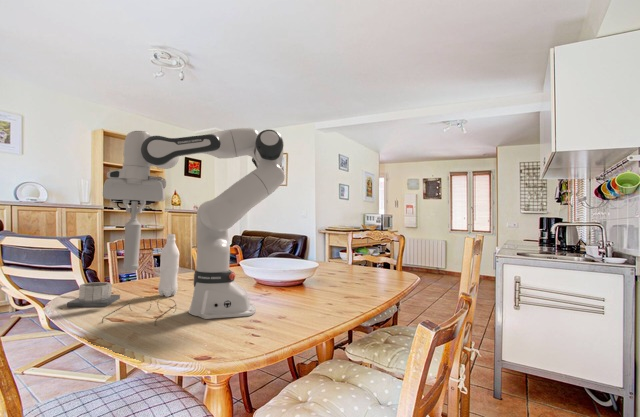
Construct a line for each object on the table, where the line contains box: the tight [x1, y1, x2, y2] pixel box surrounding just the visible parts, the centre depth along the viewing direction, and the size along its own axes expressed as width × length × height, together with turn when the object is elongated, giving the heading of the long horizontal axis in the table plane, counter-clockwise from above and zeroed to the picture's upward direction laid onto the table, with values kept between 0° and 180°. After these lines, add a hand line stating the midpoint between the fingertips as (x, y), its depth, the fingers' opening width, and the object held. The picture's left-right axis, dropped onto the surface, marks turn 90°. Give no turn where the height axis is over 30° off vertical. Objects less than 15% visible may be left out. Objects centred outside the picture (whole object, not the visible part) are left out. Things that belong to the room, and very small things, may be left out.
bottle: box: [122, 200, 142, 272], centre depth 118 cm, size 5×5×25 cm
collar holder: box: [66, 281, 121, 308], centre depth 117 cm, size 12×12×6 cm
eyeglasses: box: [101, 296, 177, 327], centre depth 103 cm, size 16×15×5 cm
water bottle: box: [157, 233, 181, 298], centre depth 133 cm, size 7×7×25 cm
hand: (133, 212), depth 118 cm, fingers closed on bottle, 2 cm apart
